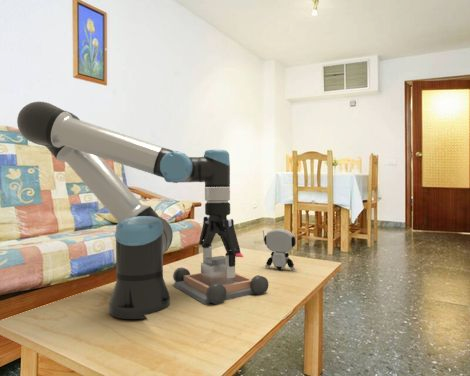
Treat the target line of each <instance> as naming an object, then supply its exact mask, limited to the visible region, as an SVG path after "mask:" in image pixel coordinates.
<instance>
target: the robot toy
mask: <svg viewBox="0 0 470 376" xmlns="http://www.w3.org/2000/svg"><path fill="white" fill-rule="evenodd" d="M262 234H263V241H264V245H265V246H266V248H267V249H268V250H269V251H271V253H270V255H271V256H270V257H268V258H267V260H266V263H265V268H266V269H270V268H271V266H272V264H273V266H274V269H276V270H278V271H282V270H283V269H285V268H286V265H287V266H288V268H289V270H290V272H294V271H295V270H296V267H295V264H294V262H293V260H292V259H291V258H290V257H289V256H290V254H289V252H290V251H292V250H293V248H294V247H295V246H296V245H297V244H296V243H297V237H296V231H294V234H293V233H292V232H291V231H290V230H287V229H282V228H276V229H272V230H269V231H268V232H266V235H265V230H262Z"/></svg>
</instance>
